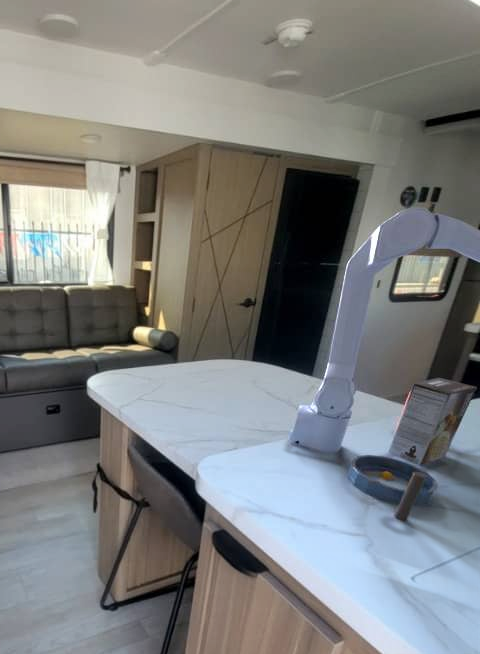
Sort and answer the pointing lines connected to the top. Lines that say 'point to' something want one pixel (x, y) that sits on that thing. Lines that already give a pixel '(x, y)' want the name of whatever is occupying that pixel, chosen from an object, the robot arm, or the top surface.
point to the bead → (386, 475)
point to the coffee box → (430, 420)
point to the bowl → (395, 469)
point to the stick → (410, 496)
